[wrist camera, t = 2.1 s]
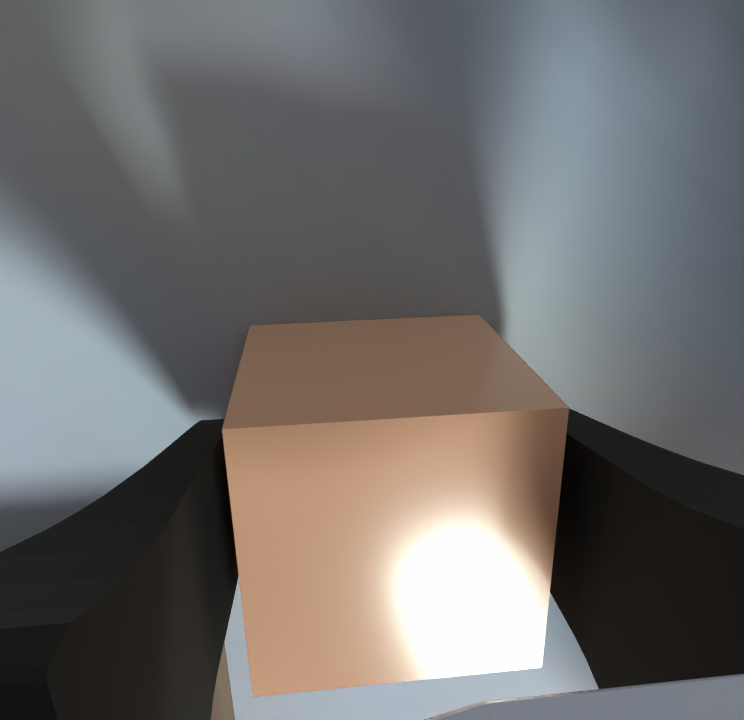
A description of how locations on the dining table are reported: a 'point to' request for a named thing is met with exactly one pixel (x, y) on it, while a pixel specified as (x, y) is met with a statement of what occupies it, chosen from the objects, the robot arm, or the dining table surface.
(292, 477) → the terracotta cube
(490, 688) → the dining table surface
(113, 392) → the dining table surface
